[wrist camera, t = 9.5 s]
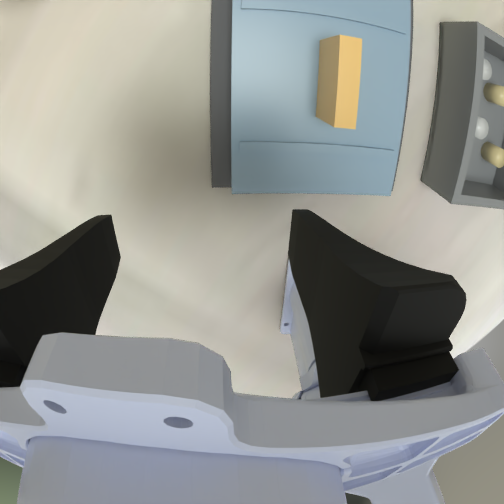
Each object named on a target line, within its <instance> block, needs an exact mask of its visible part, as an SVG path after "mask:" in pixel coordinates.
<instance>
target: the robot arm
mask: <svg viewBox="0 0 504 504" xmlns="http://www.w3.org/2000/svg"><path fill="white" fill-rule="evenodd" d="M288 256H289V259H288V267H287V276H286V284H285V292H284V301H283V309H282V316H281V324H280V332H281V333H282V334H291V338H292V343H293V348H294V352H295V357H296V361H297V366H298V371H299V375H300V383H301V387H302V391H300V392H298V393H296V394H295V395H294V396H293V398H292V399H290V398H278V397H268V396H258V395H250V394H242V393H235V392H233V389H232V384H231V371H230V369H229V367H228V366H227V364H226V362H225V360H224V358H223V356H221V355H219V354H217V353H215V352H214V351H212V350H210V349H208V348H206V347H205V346H203V345H201V344H199V343H197V342H191V341H185V340H179V339H174V338H145V337H120V336H102V335H95V334H96V329H97V326H98V322H99V319H100V316H101V314H102V311H103V308H104V306H105V303H106V301H107V298H108V296H109V293H110V291H111V288H112V286H113V283H114V280H115V278H116V274H117V271H118V267H119V262H120V258H121V256H120V252H119V248H118V244H117V240H116V235H115V231H114V226H113V221H112V216H111V215H98V216H96V217H93V218H91V219H89V220H88V221H86V222H84V223H83V224H81V225H79V226H78V227H76V228H75V229H73V230H72V231H70V232H69V233H67V234H66V235H64V236H62V237H61V238H59V239H58V240H56V241H54V242H53V243H51V244H50V245H48V246H47V247H45V248H43V249H42V250H40V251H38V252H36V253H35V254H33V255H31V256H29V257H27V258H25V259H23V260H21V261H19V262H17V263H15V264H12V265H10V266H8V267H6V268H4V269H1V270H0V457H2V458H4V459H6V460H8V461H10V462H12V463H14V464H16V465H18V466H21V467H23V471H22V476H21V481H20V487H19V493H18V499H17V504H347V502H346V497H345V492H346V493H351V494H355V495H360V496H363V497H367V498H369V499H370V501H371V503H372V504H446V503H445V501H444V498H443V495H442V492H441V490H440V487H439V485H438V482H437V480H436V478H435V475H434V473H433V470H432V467H433V465H434V464H435V462H436V461H437V459H438V457H440V456H442V455H444V454H446V453H448V452H450V451H452V450H454V449H456V448H458V447H460V446H462V445H464V444H466V443H468V442H470V441H472V440H473V439H475V438H476V437H477V436H479V435H480V434H481V433H482V432H483V431H484V430H486V429H487V428H488V427H489V426H491V425H492V424H493V423H494V422H495V421H496V420H497V419H499V418H500V417H501V416H502V415H503V414H504V382H503V381H502V379H501V377H500V375H499V373H498V372H497V370H496V368H495V366H494V365H493V363H492V361H491V360H490V358H489V356H488V355H487V353H486V351H485V350H484V348H478V349H475V350H472V351H468V352H465V353H462V354H460V355H458V356H457V357H455V358H454V359H453V358H452V356H451V354H450V352H449V351H451V350H452V348H453V345H452V343H451V342H450V340H449V337H450V335H451V333H452V332H453V330H454V328H455V327H456V325H457V323H458V322H459V320H460V318H461V316H462V314H463V312H464V309H465V305H466V293H465V292H464V290H463V289H462V288H461V286H460V285H459V284H458V282H457V281H456V280H455V279H454V277H453V276H452V275H448V274H444V273H439V272H435V271H430V270H426V269H422V268H419V267H416V266H413V265H409V264H406V263H404V262H401V261H398V260H396V259H393V258H391V257H388V256H386V255H383V254H381V253H379V252H377V251H375V250H373V249H371V248H369V247H367V246H365V245H363V244H361V243H359V242H358V241H356V240H354V239H353V238H351V237H349V236H348V235H346V234H344V233H343V232H341V231H340V230H338V229H337V228H335V227H334V226H332V225H331V224H329V223H328V222H327V221H325V220H324V219H322V218H321V217H319V216H318V215H316V214H315V213H313V212H312V211H310V210H293V211H292V221H291V231H290V241H289V250H288Z"/></svg>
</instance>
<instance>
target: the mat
mask: <svg viewBox="0 0 504 504" xmlns="http://www.w3.org/2000/svg"><path fill="white" fill-rule="evenodd" d="M231 39H232V0H212V13H211V66H210V113H211V170H212V188H214V187H232V185H231ZM412 39H413V0H411V33H410V58H409V73H408V85H407V95H406V104H405V113H404V121H403V128H402V135H401V141H400V148H399V154H398V160H397V165H396V171H397V166H398V161H399V155H400V150H401V144H402V137H403V131H404V124H405V117H406V110H407V101H408V93H409V83H410V72H411V58H412ZM396 171H395V176H396ZM395 176H394V181H395ZM394 181H393V186H394ZM393 186H392V191H393Z"/></svg>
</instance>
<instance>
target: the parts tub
mask: <svg viewBox="0 0 504 504" xmlns="http://www.w3.org/2000/svg"><path fill="white" fill-rule="evenodd" d="M421 181H422V182H423V183H425V184H426V185H427V186H429V187H430V188H431V189H433V190H434V191H435V192H437V193H438V194H439V195H440V196H442V197H443V198H444V199H446V200H447V201H448V202H449V203H451V204H458V205H469V206H478V207H488V208H497V209H504V38H503V37H502V36H500V35H498V34H497V33H495V32H494V31H492V30H490V29H489V28H487V27H485V26H484V25H482V24H480V23H479V22H443V23H440V45H439V63H438V75H437V86H436V95H435V103H434V111H433V118H432V124H431V130H430V136H429V142H428V147H427V153H426V158H425V163H424V168H423V172H422V177H421Z"/></svg>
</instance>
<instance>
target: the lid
mask: <svg viewBox="0 0 504 504" xmlns="http://www.w3.org/2000/svg"><path fill="white" fill-rule="evenodd" d="M410 33H411V0H232V39H231V185H232V194H251V193H316V194H356V195H381V196H391V191H392V186H393V181H394V176H395V171H396V165H397V160H398V154H399V148H400V141H401V135H402V128H403V121H404V113H405V104H406V95H407V85H408V73H409V58H410Z"/></svg>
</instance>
